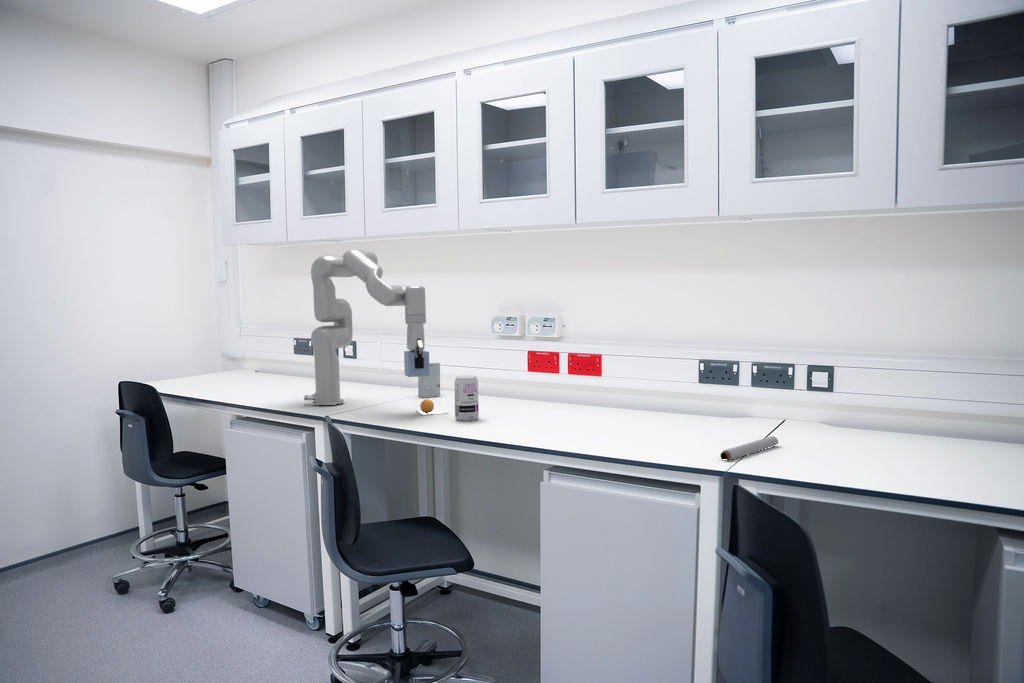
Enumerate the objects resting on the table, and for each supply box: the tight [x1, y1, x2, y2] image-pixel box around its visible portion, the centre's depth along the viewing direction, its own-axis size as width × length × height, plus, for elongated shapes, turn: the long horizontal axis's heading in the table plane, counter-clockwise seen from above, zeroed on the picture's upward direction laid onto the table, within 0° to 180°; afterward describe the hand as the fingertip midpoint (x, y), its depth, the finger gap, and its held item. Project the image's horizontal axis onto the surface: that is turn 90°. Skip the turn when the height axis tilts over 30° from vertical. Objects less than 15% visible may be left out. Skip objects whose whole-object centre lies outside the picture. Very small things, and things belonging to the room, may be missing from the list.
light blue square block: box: [403, 349, 430, 378], centre depth 243 cm, size 8×8×9 cm
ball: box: [419, 398, 435, 413], centre depth 246 cm, size 5×5×5 cm
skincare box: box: [417, 361, 441, 399], centre depth 283 cm, size 8×6×15 cm
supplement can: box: [454, 375, 479, 422], centre depth 232 cm, size 8×8×15 cm
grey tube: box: [720, 435, 779, 461], centre depth 181 cm, size 3×3×25 cm
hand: (417, 366), depth 243 cm, fingers closed on light blue square block, 7 cm apart
